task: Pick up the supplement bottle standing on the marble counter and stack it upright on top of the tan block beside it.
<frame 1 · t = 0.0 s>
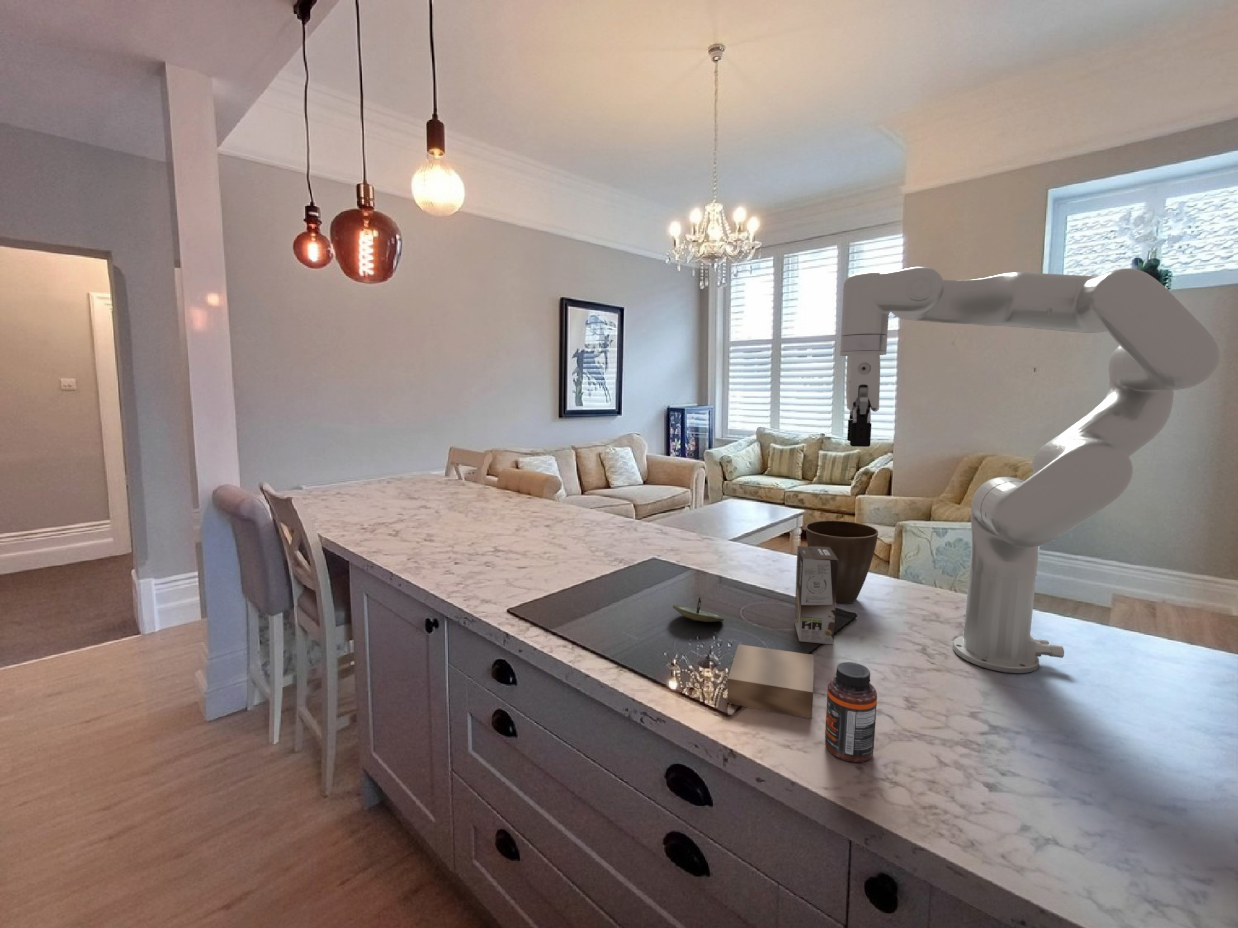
hand: (858, 443, 103), 37 cm above the kitchen island, tool pointing down, fingers open, 9 cm apart
coffee box: (813, 634, 110), on the kitchen island
lid: (698, 623, 115), on the kitchen island
supplement bottle: (848, 751, 75), on the kitchen island
tan block: (771, 690, 89), on the kitchen island
plant pot: (837, 598, 128), on the kitchen island
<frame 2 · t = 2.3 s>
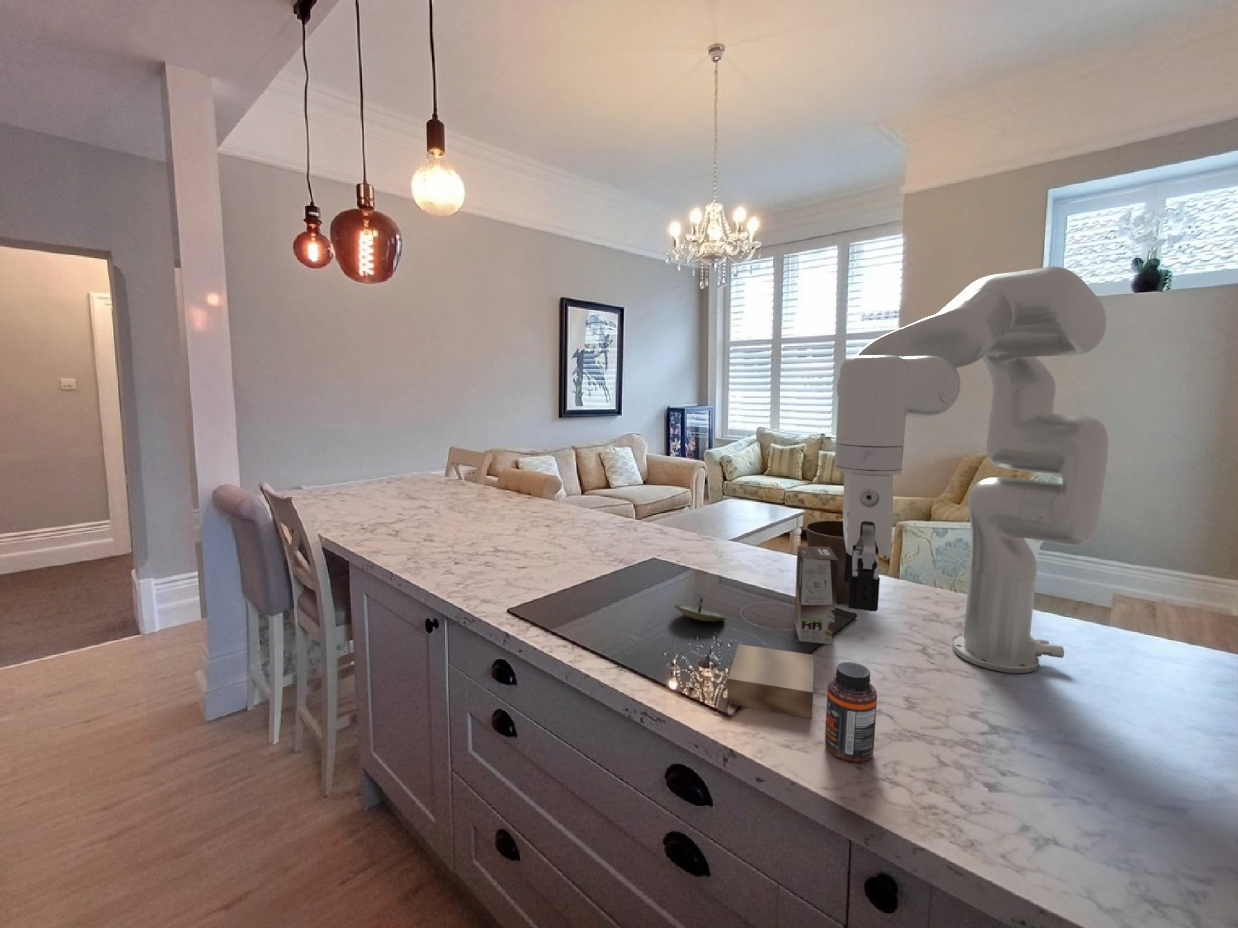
hand: (859, 595, 71), 21 cm above the kitchen island, tool pointing down, fingers open, 9 cm apart
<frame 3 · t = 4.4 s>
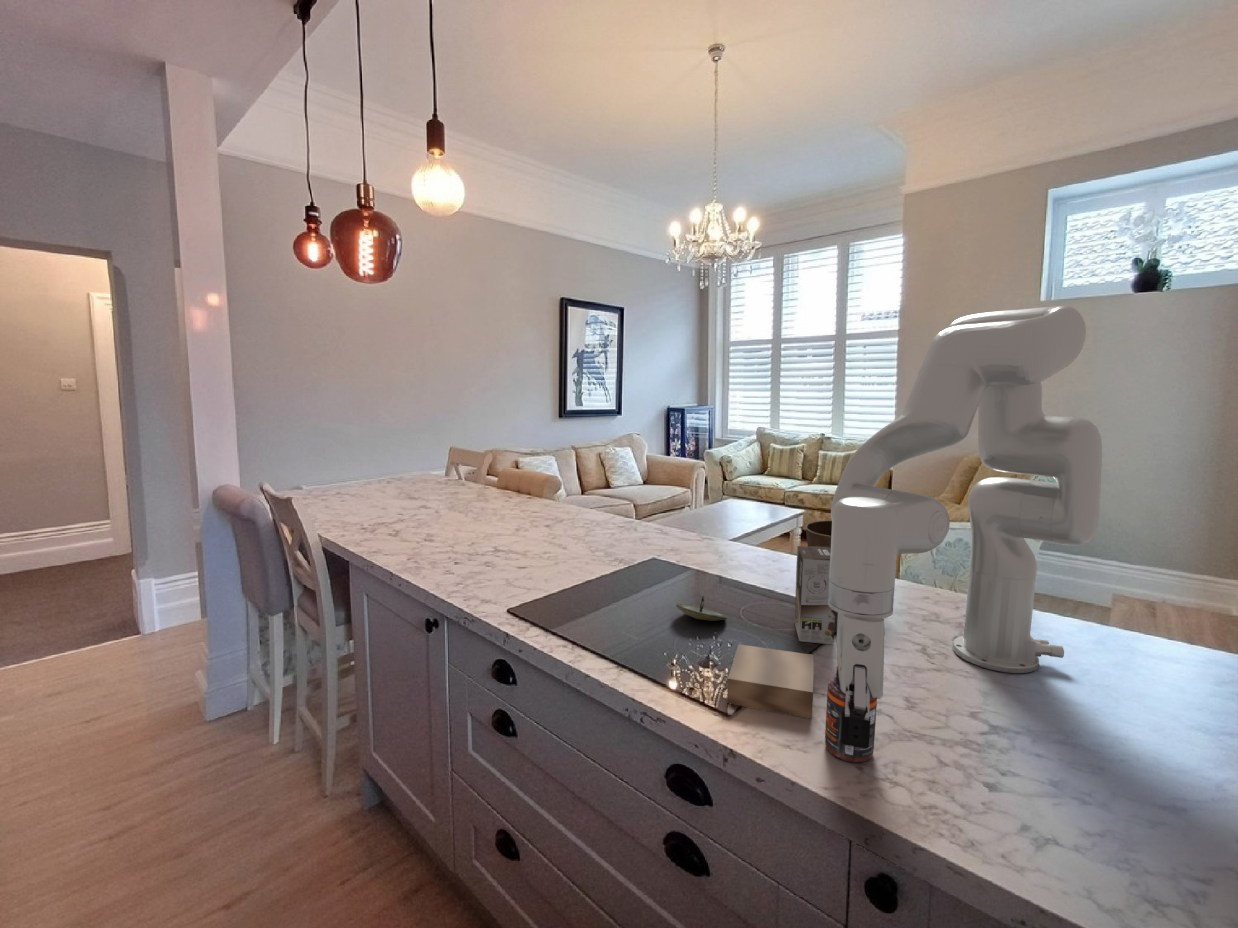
hand: (853, 728, 74), 3 cm above the kitchen island, tool pointing down, fingers closed on supplement bottle, 5 cm apart
supplement bottle: (848, 751, 75), on the kitchen island, touching gripper
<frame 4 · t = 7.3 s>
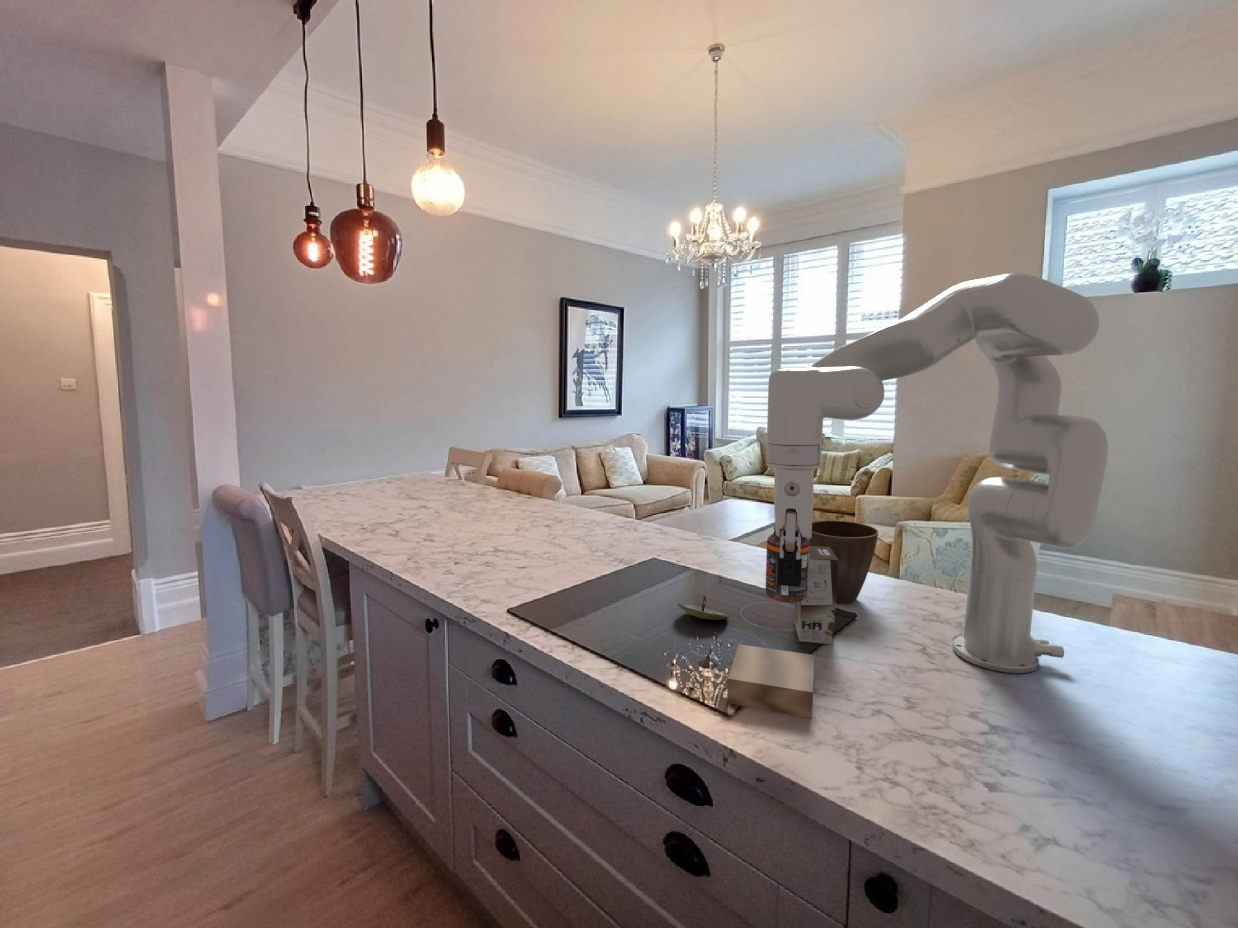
hand: (789, 576, 84), 19 cm above the kitchen island, tool pointing down, fingers closed on supplement bottle, 5 cm apart
supplement bottle: (785, 597, 84), point 16 cm above the kitchen island, touching gripper
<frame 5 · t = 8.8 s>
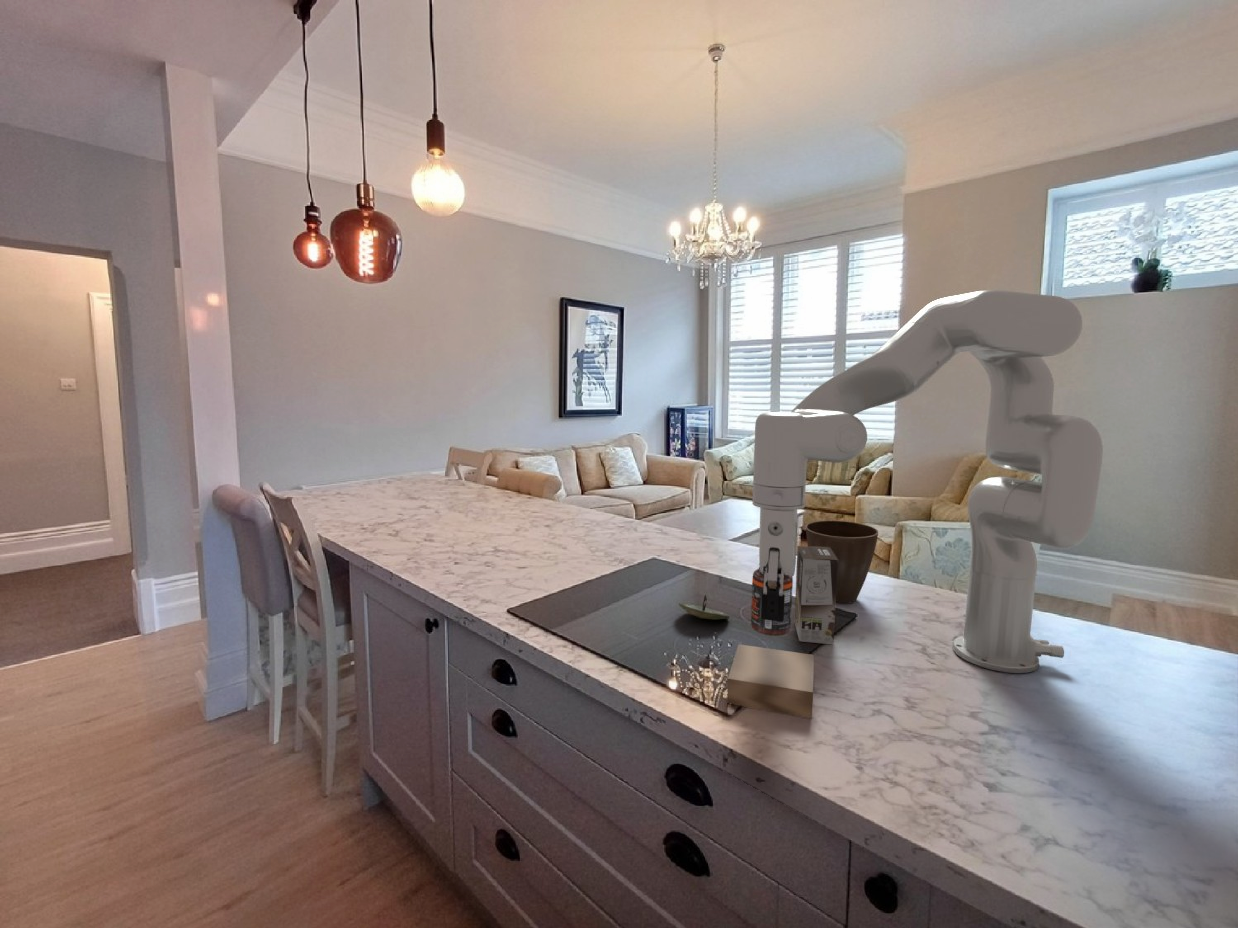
hand: (774, 610, 87), 13 cm above the kitchen island, tool pointing down, fingers closed on supplement bottle, 5 cm apart
supplement bottle: (770, 630, 88), point 10 cm above the kitchen island, touching gripper
when the fingers open (8 cm above the kitchen island, at t = 10.1 s): supplement bottle drops 1 cm, resting on tan block.
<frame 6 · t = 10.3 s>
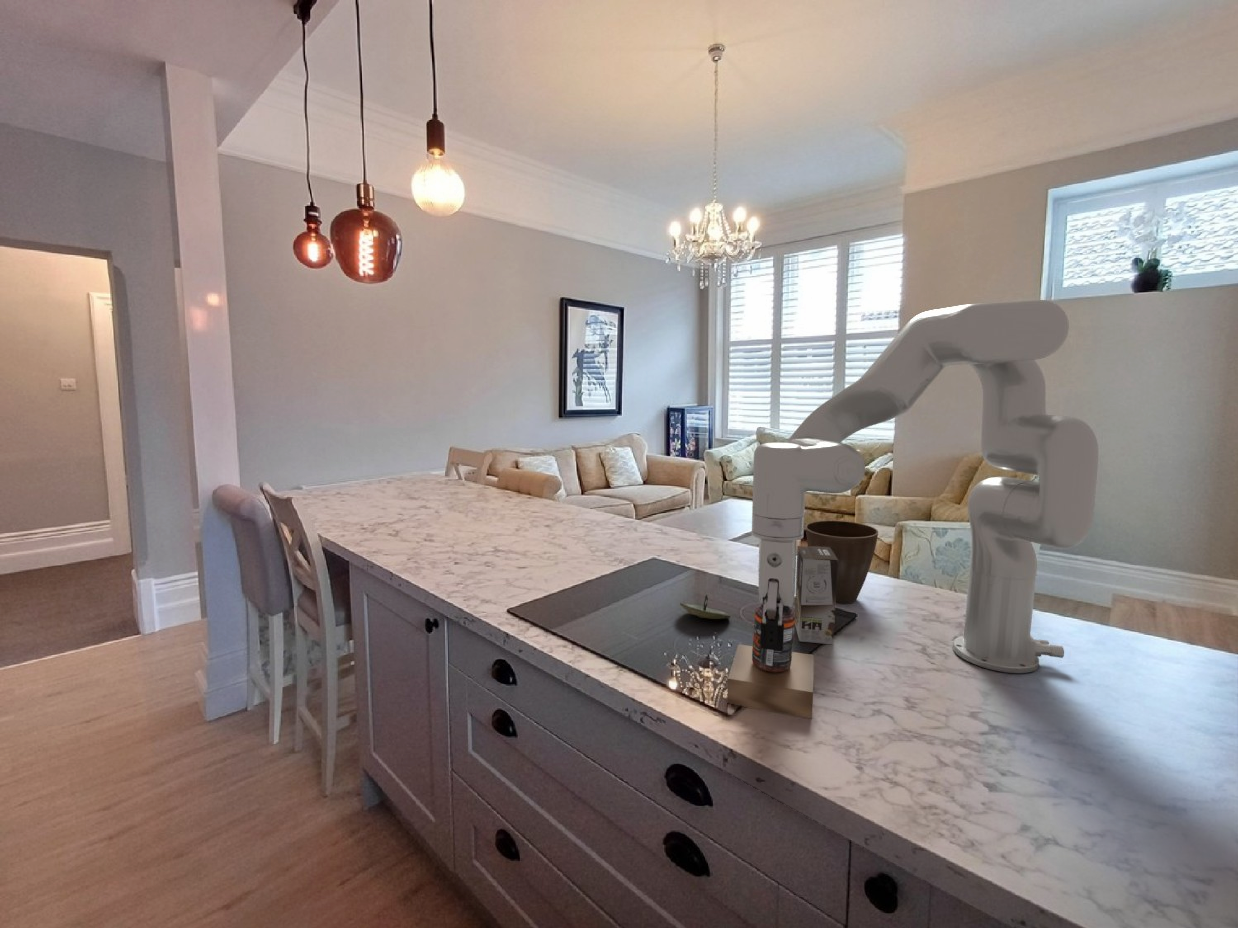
hand: (773, 636, 88), 9 cm above the kitchen island, tool pointing down, fingers open, 7 cm apart
supplement bottle: (770, 665, 89), point 4 cm above the kitchen island, touching tan block
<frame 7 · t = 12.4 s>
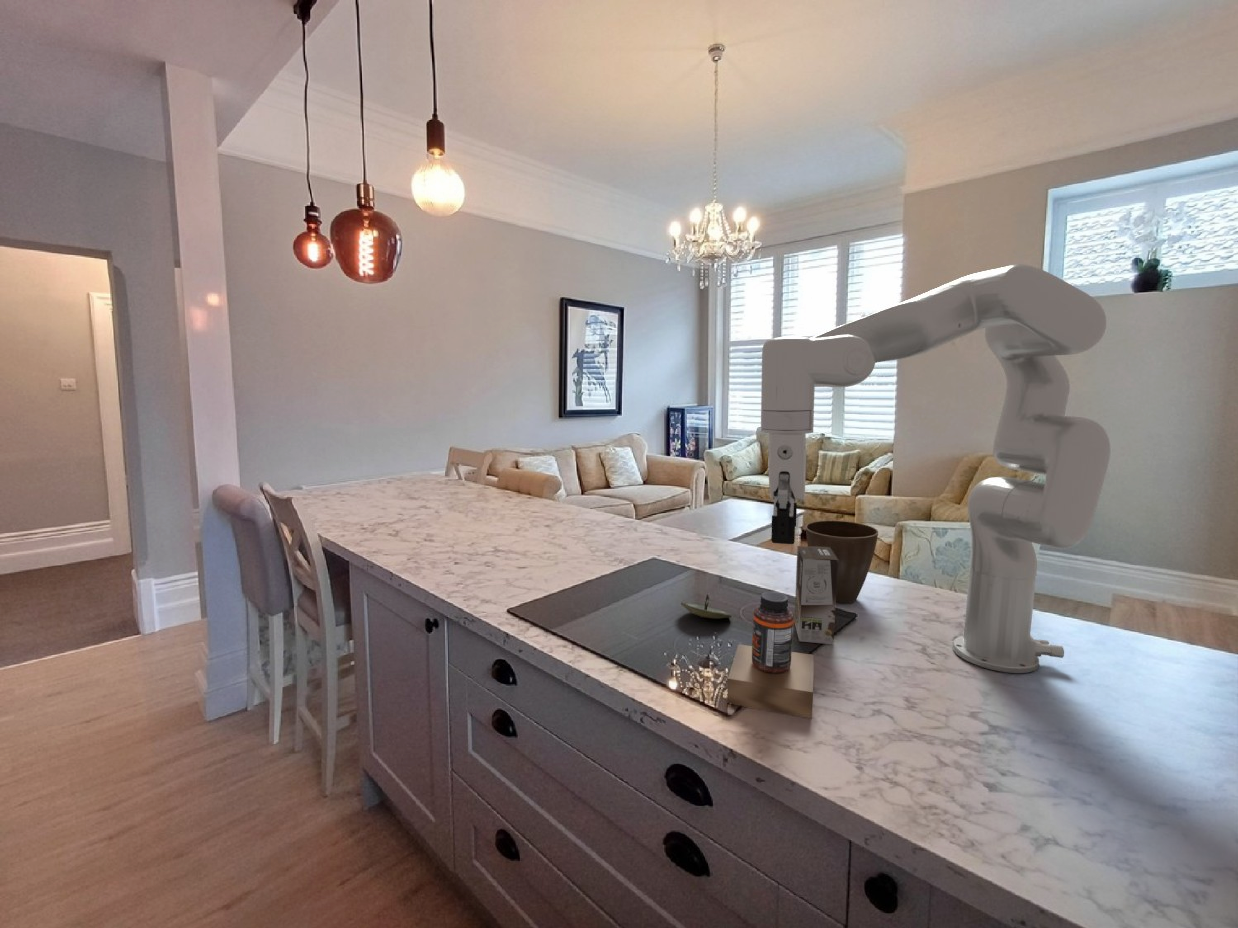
hand: (784, 534, 87), 25 cm above the kitchen island, tool pointing down, fingers open, 9 cm apart
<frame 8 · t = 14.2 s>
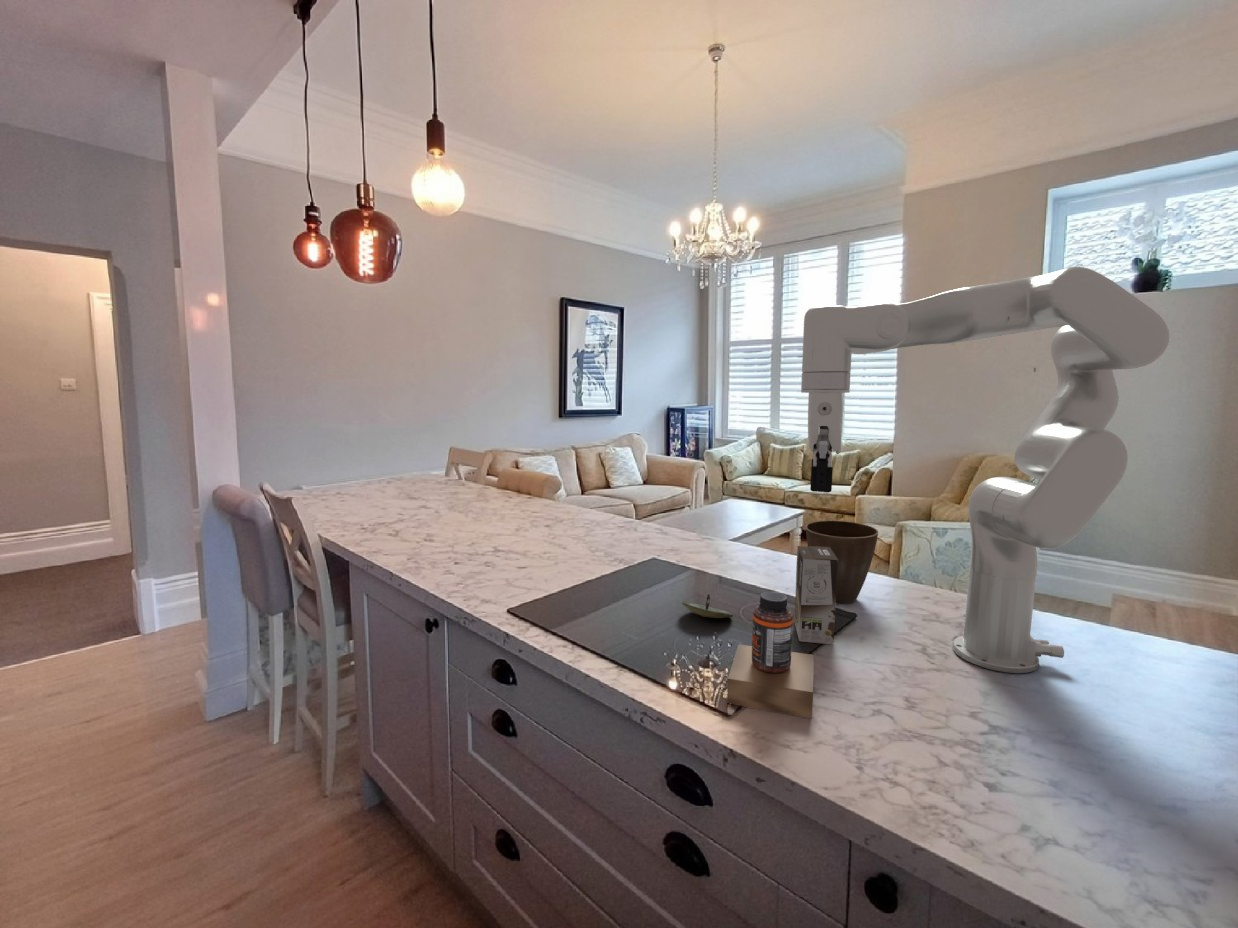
hand: (820, 486, 96), 30 cm above the kitchen island, tool pointing down, fingers open, 9 cm apart
at the end: supplement bottle inside the target area on the tan block (0.4 cm from its centre), point 3.8 cm above the tan block's base; supplement bottle tilted 0°; the gripper is holding nothing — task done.
